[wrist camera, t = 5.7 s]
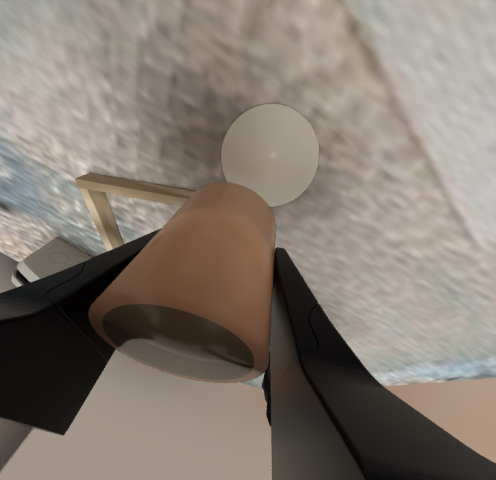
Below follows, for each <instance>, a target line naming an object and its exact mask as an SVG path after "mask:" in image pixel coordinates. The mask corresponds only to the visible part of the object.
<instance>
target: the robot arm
mask: <svg viewBox="0 0 496 480" xmlns="http://www.w3.org/2000/svg"><path fill="white" fill-rule="evenodd" d="M161 229H162V228H161ZM161 229H159V230H157V231H154V232H152V233H150V234H147V235H145V236H143V237H140V238H138V239H135V240H133V241H131V242H128V243H126V244H124V245H121V246H119V247H117V248H114V249H112V250H110V251H107V252H105V253H103V254H100V255H98V256H96V257H93V258H91V259H89V260H87V261H84V262H81V263H79V264H77V265H74V266H72V267H69V268H67V269H65V270H62V271H60V272H57V273H54V274H52V275H49V276H46V277H44V278H41V279H38V280H36V281H33V282H30V283H27V284H25V285H22V286H19V287H17V288H14V289H11V290H8V291H6V292H3V293H0V473H1V471H2V470H3V469H4V467H5V466H6V465H7V463H8V462H9V461H10V459H11V458H12V457H13V455H14V454H15V453H16V451H17V450H18V449H19V447H20V446H21V445H22V443H23V442H24V441H25V439H26V438H27V437H28V435H29V434H30V433H31V431H32V430H33V429H39V430H43V431H47V432H51V433H55V434H59V435H64V434H65V433H66V431H67V430H68V428H69V426H70V425H71V423H72V422H73V420H74V418H75V417H76V415H77V413H78V412H79V410H80V408H81V406H82V405H83V403H84V402H85V400H86V398H87V396H88V395H89V393H90V391H91V390H92V388H93V386H94V385H95V383H96V381H97V380H98V378H99V376H100V375H101V373H102V371H103V370H104V368H105V366H106V365H107V363H108V362H107V361H109V359H110V358H111V356H112V354H113V353H114V351H115V348H114V347H112V346H111V345H110V344H108V343H107V342H106V341H105V340H104V339H102V338H101V337H100V336H99V334H98V333H97V332H96V331H95V330H94V328H93V327H92V325H91V323H90V321H89V316H88V314H89V309H90V307H91V305H92V304H93V303H94V302H95V300H96V299H97V298H98V297H99V296H100V295H101V294H102V293H103V292H104V291H105V290H106V288H107V287H108V286H109V285H110V284H111V283H112V282H113V281H114V280H115V279H116V278H117V277H118V275H119V274H120V273H121V272H122V271H123V270H124V269H125V268H126V267H127V266H128V265H129V263H130V262H131V261H132V260H133V259H134V258H135V257H136V256H137V255H138V254H139V253H140V251H141V250H142V249H143V248H144V247H145V246H146V245H147V244H148V243H149V242H150V241H151V239H152V238H153V237H154V236H155V235H156V234H157V233H158V232H159V231H160V230H161ZM262 388H263V390H264V394H265V400H266V402H267V413H266V414H267V418H268V422H269V424H270V426H271V435H272V437H271V439H272V440H271V441H272V480H496V463H494V462H492V461H490V460H489V459H487V458H485V457H483V456H481V455H480V454H478V453H477V452H475V451H474V450H472V449H471V448H469V447H468V446H466V445H465V444H463V443H462V442H460V441H459V440H458V439H456V438H454V437H453V436H452V435H451V434H449V433H448V432H446V431H445V430H443V429H442V428H441V427H439V426H438V425H436V424H435V423H434V422H432V421H431V420H429V419H428V418H427V417H425V416H424V415H422V414H421V413H420V412H418V411H417V410H415V409H414V408H412V407H411V406H410V405H408V404H407V403H405V402H404V401H403V400H401V399H400V398H398V397H397V396H396V395H394V394H393V393H391V392H390V391H389V390H387V389H386V388H385V387H384V386H382V385H381V384H380V383H379V382H378V381H377V380H376V379H375V378H374V377H373V376H372V375H371V374H370V373H369V372H368V370H367V369H366V368H365V367H364V365H363V364H362V363H361V361H360V360H359V359H358V357H357V356H356V355H355V354H354V352H353V351H352V350H351V348H350V347H349V346H348V344H347V343H346V342H345V341H344V339H343V338H342V337H341V335H340V334H339V333H338V331H337V330H336V328H335V327H334V326H333V324H332V323H331V322H330V320H329V319H328V317H327V316H326V314H325V313H324V311H323V309H322V308H321V306H320V305H319V303H318V301H317V300H316V298H315V297H314V295H313V293H312V292H311V290H310V289H309V287H308V285H307V284H306V282H305V281H304V279H303V277H302V276H301V274H300V273H299V271H298V269H297V268H296V266H295V265H294V263H293V261H292V260H291V258H290V257H289V255H288V253H287V252H286V250H285V249H284V248H278V247H277V248H276V249H275V260H274V278H273V296H272V315H271V333H270V352H269V364H268V368H267V369H266V371H265V374H264V379H263V382H262Z"/></svg>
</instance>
